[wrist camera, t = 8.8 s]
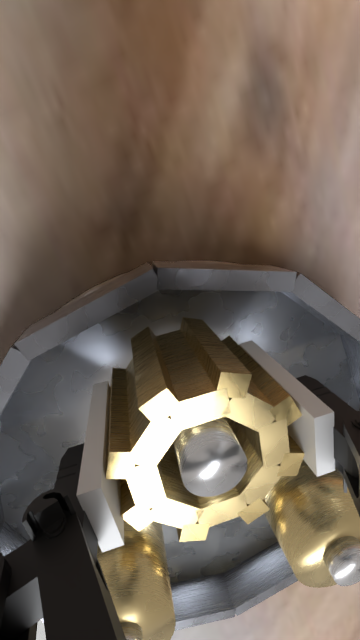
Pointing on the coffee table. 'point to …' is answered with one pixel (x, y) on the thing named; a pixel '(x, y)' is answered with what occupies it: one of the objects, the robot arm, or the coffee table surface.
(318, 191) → the coffee table surface
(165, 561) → the carrier
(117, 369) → the planet gear
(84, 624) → the robot arm
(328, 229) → the coffee table surface
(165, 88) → the coffee table surface
